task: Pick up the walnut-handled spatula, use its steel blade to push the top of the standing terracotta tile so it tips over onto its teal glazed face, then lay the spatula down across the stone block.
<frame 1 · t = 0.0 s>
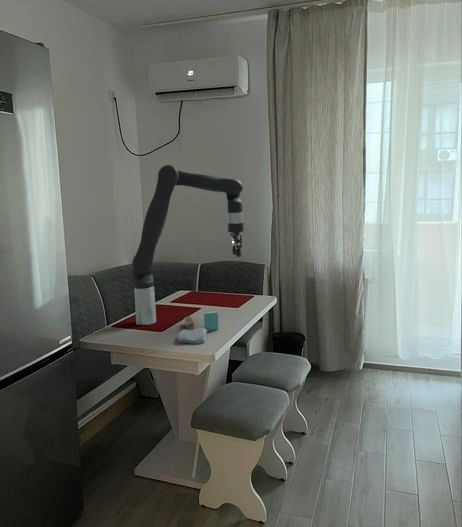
hand: (236, 255, 220), 29 cm above the table, tool pointing down, fingers open, 8 cm apart
spatula: (190, 329, 202), on the table
tile: (211, 330, 200), on the table
stone block: (192, 341, 187), on the table
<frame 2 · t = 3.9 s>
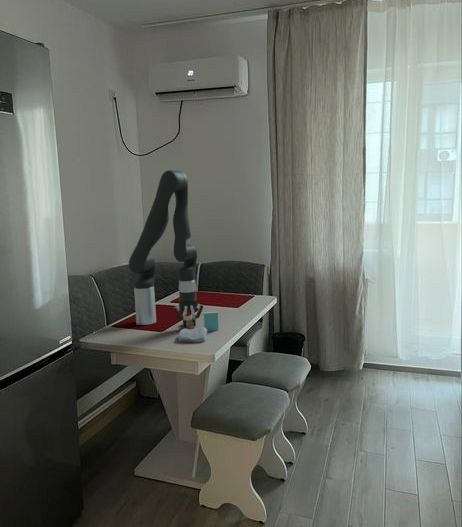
hand: (189, 327, 204), 0 cm above the table, tool pointing down, fingers closed on spatula, 3 cm apart
spatula: (189, 329, 202), on the table, touching gripper
stone block: (193, 340, 188), on the table
everything else where it was.
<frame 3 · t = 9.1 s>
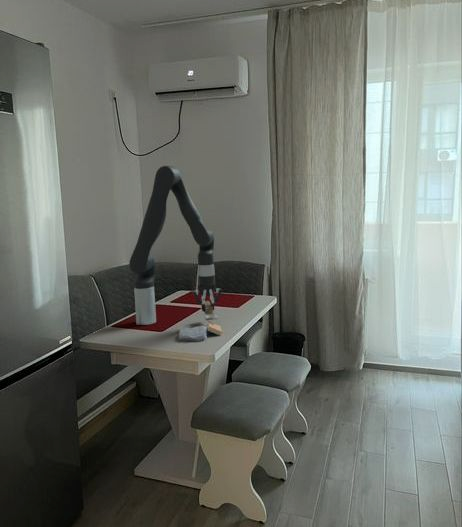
hand: (208, 311, 207), 6 cm above the table, tool pointing down, fingers closed on spatula, 3 cm apart
spatula: (208, 313, 206), point 6 cm above the table, touching gripper
tile: (213, 325, 199), point 2 cm above the table, tilted 91°, touching stone block
stone block: (193, 339, 190), on the table, touching tile
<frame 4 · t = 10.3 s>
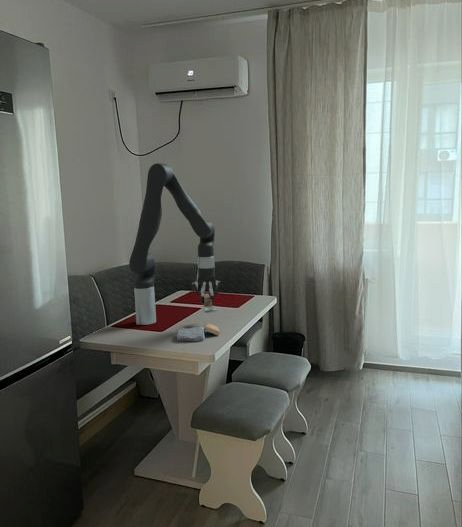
hand: (207, 303, 206), 10 cm above the table, tool pointing down, fingers closed on spatula, 3 cm apart
spatula: (207, 306, 205), point 9 cm above the table, touching gripper
tile: (210, 326, 198), point 2 cm above the table, tilted 90°, touching stone block
when the fingers open (6 cm above the table, at t = 14.0 s): spatula drops 2 cm, resting on stone block.
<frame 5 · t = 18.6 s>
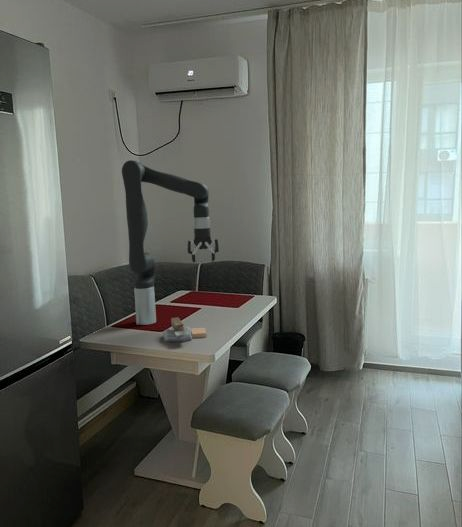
hand: (203, 262, 211), 28 cm above the table, tool pointing down, fingers open, 8 cm apart
spatula: (178, 331, 188), point 3 cm above the table, touching stone block
tile: (198, 330, 198), point 1 cm above the table, tilted 90°, touching stone block
stone block: (178, 340, 190), on the table, touching spatula, tile
at the end: tile tilted 90°; spatula touching stone block; the gripper is holding nothing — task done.
